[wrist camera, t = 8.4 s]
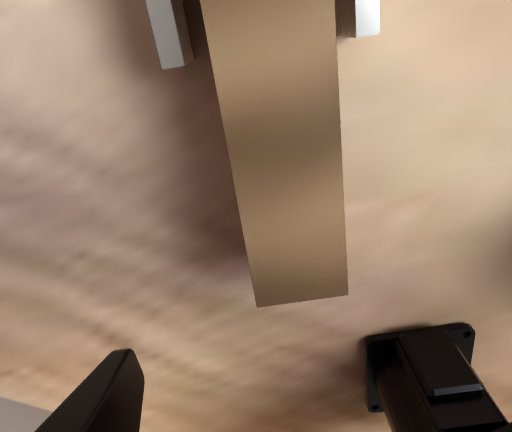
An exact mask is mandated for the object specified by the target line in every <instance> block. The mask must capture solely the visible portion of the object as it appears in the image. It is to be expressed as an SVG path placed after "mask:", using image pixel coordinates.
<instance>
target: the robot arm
mask: <svg viewBox="0 0 512 432" xmlns="http://www.w3.org/2000/svg"><path fill="white" fill-rule="evenodd" d="M474 339H475V330H474V329H473V328H472V327H471V325H470V324H457V325H450V326H443V327H436V328H428V329H421V330H414V331H406V332H399V333H392V334H385V335H377V336H371V337H369V338H367V339H366V340H365V343H364V346H365V383H366V405H367V408H368V410H369V411H370V412H383V411H384V412H385V415H386V417H387V420H388V423H389V425H390V428H391V431H392V432H512V422H510V423H509V422H508V421H507V419H506V418H505V416H504V415H503V414H502V412H501V411H500V409H499V408H498V406H497V405H496V403H495V402H494V400H493V399H492V397H491V396H490V394H489V393H488V391H487V390H486V388H485V387H484V385H483V383H482V382H481V380H480V379H479V377H478V376H477V374H476V373H475V371H474V370H473V368H472V367H471V359H472V353H473V346H474ZM373 344H375V345H373ZM143 393H144V375H143V372H142V369H141V367H140V364H139V362H138V360H137V357H136V355H135V353H134V351H133V350H132V349H130V348H127V349H120V350H115V351H112V352H111V353H110V354H109V355H108V356H107V357H106V358H105V359H104V360H103V361H102V362H101V363H100V364H99V365H98V366H97V367H96V368H95V369H94V370H93V371H92V372H91V373H90V375H89V376H88V377H87V378H86V379H85V380H84V381H83V382H82V383H81V384H80V385H79V386H78V387H77V388H76V389H75V390H74V391H73V392H72V393H71V394H70V395H69V396H68V397H67V398H66V399H65V400H64V401H63V403H62V404H61V405H60V406H59V407H58V408H57V409H56V410H55V411H54V412H53V413H52V414H51V415H50V416H49V417H48V418H47V419H46V420H45V421H44V422H43V423H42V424H41V425H40V426H39V427H38V428H37V430H36V431H35V432H139V429H140V420H141V411H142V402H143Z"/></svg>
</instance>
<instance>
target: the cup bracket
mask: <svg viewBox="0 0 512 432" xmlns="http://www.w3.org/2000/svg"><path fill="white" fill-rule="evenodd" d="M145 1H146V6H147V10H148V14H149V18H150V22H151V26H152V30H153V34H154V38H155V43H156V47H157V51H158V55H159V59H160V63H161V67H162V70H163V69H170V68H176V67H182V66H185V65H187V64H188V63H190V62H191V61H193V60H194V57H193V52H192V47H191V42H190V37H189V32H188V28H187V23H186V18H185V13H184V8H183V3H182V0H145ZM335 13H336V34H337V36H340V37H352V38H359V37H365V36H371V35H377V34H380V0H335Z"/></svg>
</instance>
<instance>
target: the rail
mask: <svg viewBox="0 0 512 432" xmlns="http://www.w3.org/2000/svg"><path fill="white" fill-rule="evenodd" d="M200 4H201V9H202V15H203V20H204V25H205V31H206V36H207V42H208V47H209V52H210V58H211V63H212V69H213V74H214V79H215V85H216V90H217V95H218V101H219V106H220V112H221V117H222V122H223V128H224V133H225V139H226V144H227V149H228V155H229V160H230V166H231V171H232V176H233V182H234V187H235V193H236V198H237V203H238V209H239V214H240V219H241V225H242V230H243V236H244V241H245V246H246V252H247V257H248V263H249V268H250V273H251V279H252V284H253V290H254V295H255V300H256V306H257V308H258V307H265V306H272V305H279V304H286V303H294V302H301V301H308V300H315V299H322V298H330V297H337V296H344V295H348V278H347V256H346V235H345V213H344V192H343V171H342V149H341V128H340V107H339V85H338V64H337V42H336V21H335V0H200Z"/></svg>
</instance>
